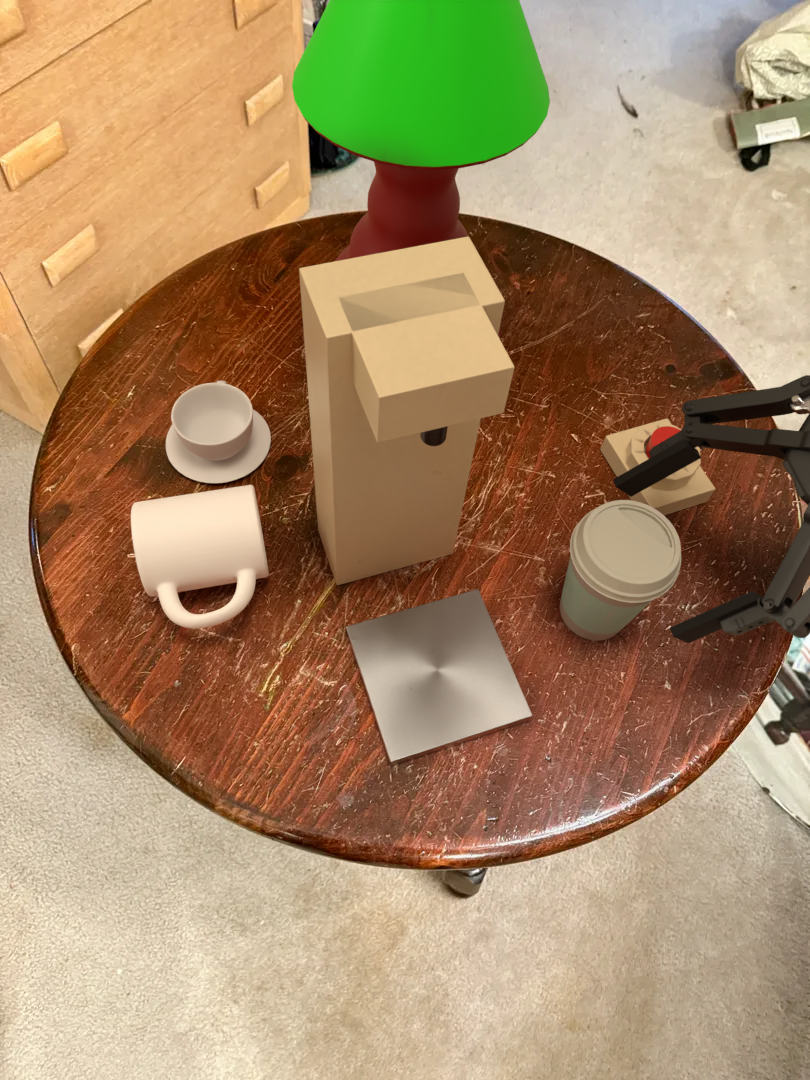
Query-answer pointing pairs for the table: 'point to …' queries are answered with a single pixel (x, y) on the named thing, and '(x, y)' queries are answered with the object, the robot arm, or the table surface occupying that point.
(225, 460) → the teacup
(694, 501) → the control block
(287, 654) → the table surface
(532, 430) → the table surface
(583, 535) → the coffee cup
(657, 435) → the red push button
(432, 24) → the table lamp
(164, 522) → the mug
